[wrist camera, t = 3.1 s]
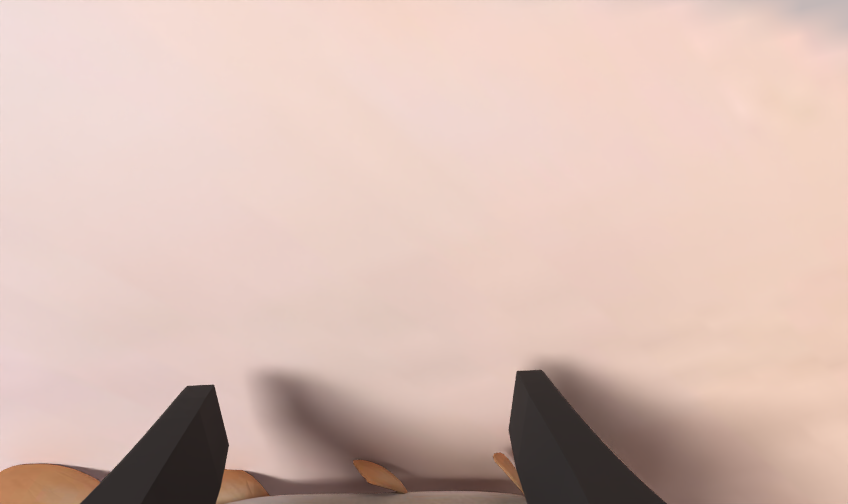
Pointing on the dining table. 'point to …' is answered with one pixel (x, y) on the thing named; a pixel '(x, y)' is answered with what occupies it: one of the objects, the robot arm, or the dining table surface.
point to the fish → (243, 488)
